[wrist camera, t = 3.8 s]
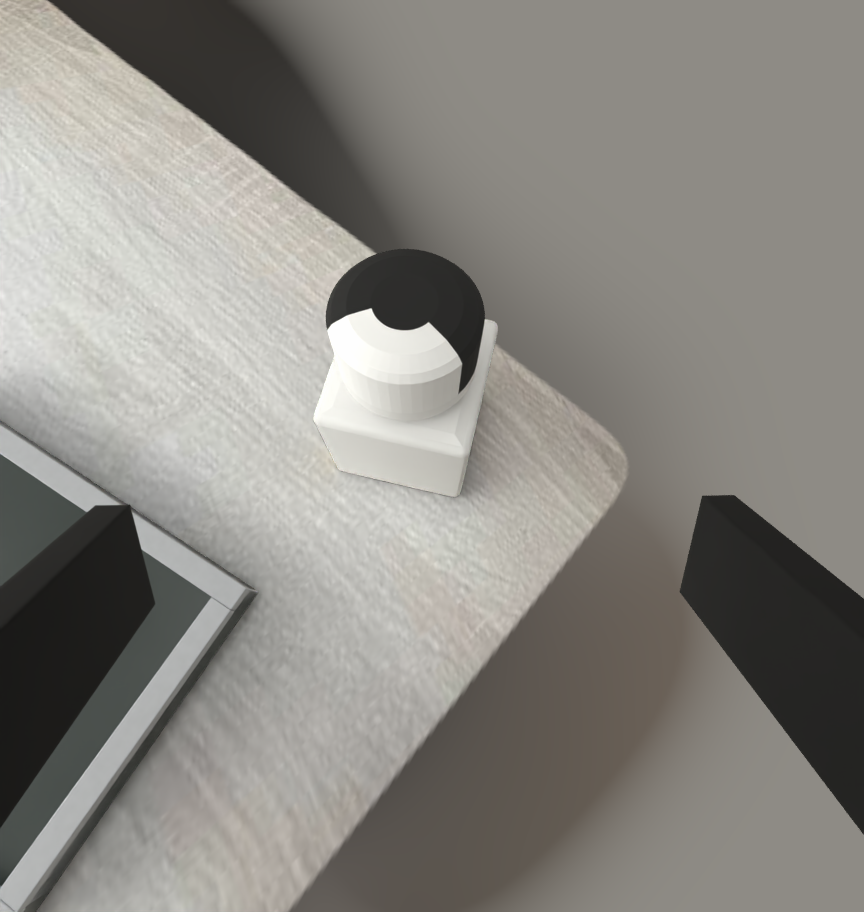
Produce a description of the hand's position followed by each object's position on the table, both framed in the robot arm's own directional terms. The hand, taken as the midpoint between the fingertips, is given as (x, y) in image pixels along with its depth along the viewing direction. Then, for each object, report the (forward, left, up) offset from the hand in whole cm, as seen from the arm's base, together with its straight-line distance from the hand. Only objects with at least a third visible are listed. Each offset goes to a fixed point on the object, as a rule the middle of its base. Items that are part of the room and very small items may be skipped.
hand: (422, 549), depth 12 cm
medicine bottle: (+6, -8, -16) cm, 19 cm away
